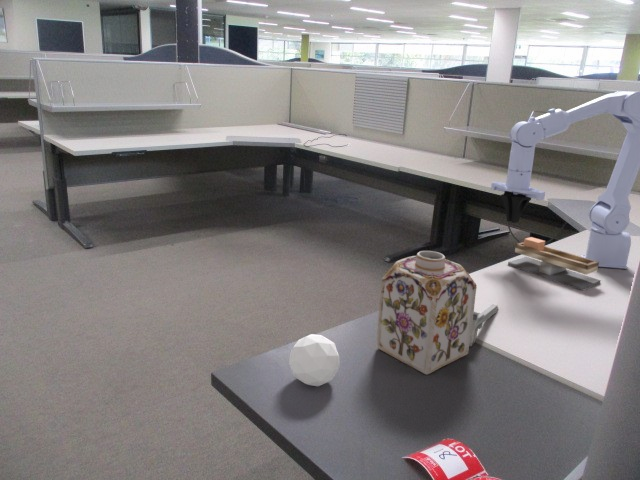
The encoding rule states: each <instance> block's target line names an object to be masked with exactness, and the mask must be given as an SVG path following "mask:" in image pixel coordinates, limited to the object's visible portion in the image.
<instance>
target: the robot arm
mask: <svg viewBox="0 0 640 480" xmlns="http://www.w3.org/2000/svg"><path fill="white" fill-rule="evenodd" d="M601 114H610V115H611V116H613V117H614V118H616V119H617V120H619V121H620V122H621V124H622V125H623V127H624V128H625V130H626V132H627V133H626V135H625V138H624V140H623V143H622V146H621V148H620V150H619V151H620V152H619V154H618V156H617V159H616V162H615V165H614V168H613V170H612V173H611V176H610V177H609V178H610V179H609V181H608V184H607V187H606V189H605V191H604V192H602V193H601V194H600V195H599V196H598V197H597V200H596V202H595V203H594V204H593V205H592V206H591V207H590V210H589V212H588V218H589V220H590V222H591V226H590V231H589V236H588V242H587V248H586V253H585V255H583V254H580V255H579V256H581V257H584V258H587V259H591V260H594V261H598V262H599V265H598V268H610V269H611V268H613V269H625V270H627V269H628V266H627V264H628V260H629V256H630V250H631V246H632V245H631V244H632V238H631V235H630V233H629V232H627V231H625V230H626V229H627V228H628V226H629V224H630V212H631V209H632V205H631V203H630V199H629V196H630V194H631V191H632V188H633V186H634V184H635V181H636V178H637V176H638V173H639V170H640V91H628V90H623V89H622V90H618V91H615V92H610V93H606V94H604V95H602V96H599V97H597V98H593V99H592V100H590V101H587V102H585V103H583V104H580V105H578V106H576V107H573V108H570V109H568V110H566V111H565V110H563V109H561V108H557V109H556V108H551V109H548V110H547V113H544V114H542V115H539V116H536V117H535V116H531V117H529V119H528V121H523V120H522V121H519V122H516V123H515V124H514V125H513V126H512V127H511V130H510V131H509V133H508V134H509V139H510V140H511V147H510V151H509V152H510V153H509V158H508V159H509V160H508V168H507V173H506V181H505V182H506V183H505V182H500V181H491V184H490V185H491V187H490V190H492V191H499V192H504V193H503V194H501V195H500V198H501V201H502V202H503V206H504V209H505V215H506V222H511V223H513V224H516V223H519V221H520V218H521V216H522V214H523V213H524V210H525V209H526V206H527V205H528V204H529V203H530V202H531V200H532V199H535V200H537V201H543V200H545V196H546V192H545V191H542V190H539V189H536V188H532V187H530V185H531V179H532V173H533V165H534V157H535V152H536V145H537V144H538V143H540V141H542V140H545V139H548V138H551V137H553V136H556V135H558V134H561V133H564V132H566V131H567V130H568V129H569V127H570V126H571V124H574V123H577V122H580V121H583V120H586V119H589V118H592V117H595V116H599V115H601Z"/></svg>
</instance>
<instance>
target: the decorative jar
mask: <svg viewBox="0 0 640 480" xmlns="http://www.w3.org/2000/svg"><path fill="white" fill-rule="evenodd" d="M380 281H381V282H380V283H381V284H380V292H379V293H380V294H379V307H378V316H377V317H378V318H377V332H376V333H377V336H376V348H377V349H378V350H380V351H382V352H384V353H385V354H387V355H389V356H390V357H393V359H394V358H395V359H396V360H398V361H400V362H402V363H403V364H405V365H408V366H409V367H410V368H412V369H415V370H416V371H419V372H420V373H422V374H424V375H426V376H427V375H430V374H431V373H434V372H436V371H437V370H439V369H441V368H442V367H444V366H446V365H449V364H451V363H453V362H455V361H457V360H458V359H460V358H463V357H465V356H467V355H469V349H470V346H469V344H470V337H471V330H472V321H473V313H474V312H475V303H476V293H477V283H476V282H475V281H474V279H473V278H472V277H471V274H470V273H469V272H468V271H467V270H466V269H465V268H464V266H462V265H461V264H460V263H456V262H455V261H451V260H449V259H446V256H445V255H444V254H443V253H441V252H438V251H433V250H420V251H419V252H417V253H416V255H412V256H407V257H404V258H401V259H399V260H397V261H395V262H394V263H393V265H392V266H391V267H390V269H388V270H387V272H386V273H385V275H383V276H382V278H381V280H380Z"/></svg>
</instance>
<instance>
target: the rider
mask: <svg viewBox="0 0 640 480" xmlns="http://www.w3.org/2000/svg"><path fill="white" fill-rule="evenodd" d="M523 242H524V246H527V247H530V248H534V249H537V250H540V251H544V246H545V245H546V240H543V239H540V238H536V237H533V236H529V237H526V238H524V239H523Z"/></svg>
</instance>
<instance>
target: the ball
mask: <svg viewBox="0 0 640 480" xmlns="http://www.w3.org/2000/svg"><path fill="white" fill-rule="evenodd" d="M288 363H289V367H290V369H291V372H292V375H293V377H294V378H295V379H297V380H298V381H300V382H302V383H304V384H305V385H307V386H313V387H320V386H323V385H325V384H327V383H329V382H331V381H332V379H333V378H334V377H335V375H336V374H337V373H338V371H339V370H340V355H339V352H338V349H337V346H336V343H335V342H333V340H331V339H329V338H327V337H325V336H324V335H321V334H315V333H310V334H309V335H306V336H304V337H302V338H300V339H298V340H297V341H296V343H295V344H294V346H293V347H292V348H291V350H290V353H289V359H288Z"/></svg>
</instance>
